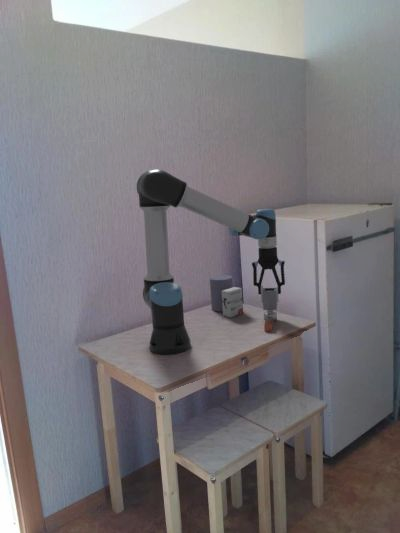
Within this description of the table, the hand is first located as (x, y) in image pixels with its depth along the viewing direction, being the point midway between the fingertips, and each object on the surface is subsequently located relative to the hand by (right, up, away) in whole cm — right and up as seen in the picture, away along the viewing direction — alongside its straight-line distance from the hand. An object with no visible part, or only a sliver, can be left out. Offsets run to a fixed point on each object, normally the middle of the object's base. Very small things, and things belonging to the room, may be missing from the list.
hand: (270, 301), depth 198 cm
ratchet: (-1, -9, -5) cm, 10 cm away
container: (-19, -5, +23) cm, 30 cm away
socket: (0, -3, 0) cm, 3 cm away
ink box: (-15, -7, +13) cm, 21 cm away
